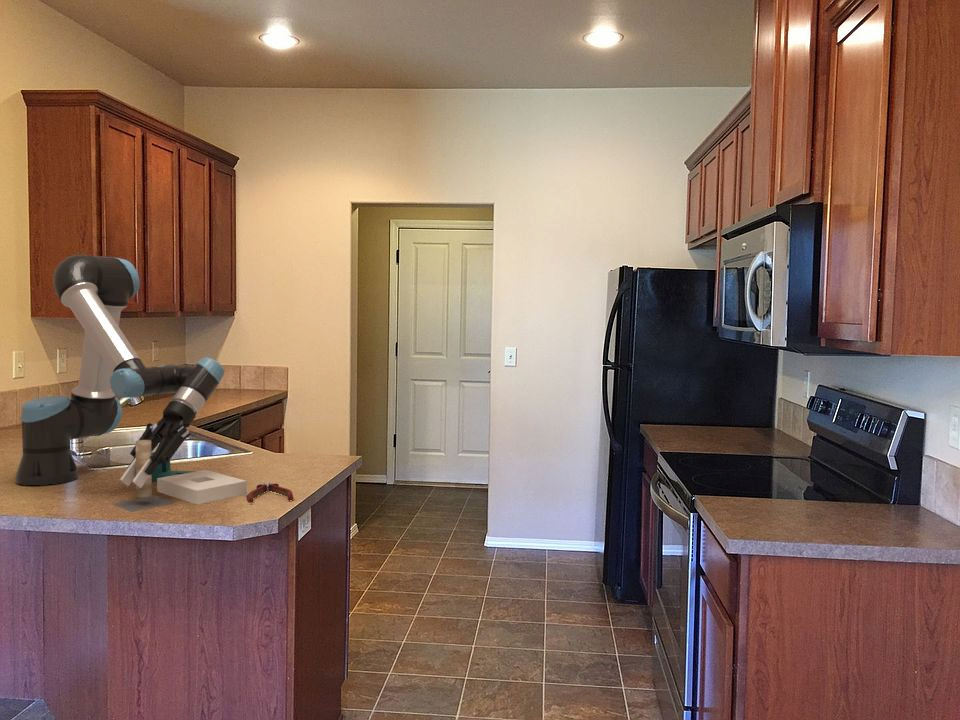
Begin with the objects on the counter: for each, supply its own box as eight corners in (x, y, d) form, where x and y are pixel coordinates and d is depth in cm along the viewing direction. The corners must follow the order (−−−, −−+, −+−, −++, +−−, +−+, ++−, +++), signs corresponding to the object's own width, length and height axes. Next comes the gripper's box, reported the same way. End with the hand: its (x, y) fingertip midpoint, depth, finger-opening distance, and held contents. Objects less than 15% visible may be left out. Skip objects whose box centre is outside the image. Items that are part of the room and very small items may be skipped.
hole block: (157, 493, 189) (157, 478, 189) (205, 483, 200) (205, 469, 199) (197, 506, 176) (197, 490, 176) (246, 495, 187) (246, 480, 187)
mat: (110, 505, 176) (110, 503, 176) (154, 497, 185) (154, 495, 185) (132, 513, 169) (131, 511, 169) (176, 504, 178) (176, 502, 178)
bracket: (135, 482, 201) (134, 455, 200) (148, 477, 208) (148, 450, 207) (195, 485, 199) (195, 457, 199) (207, 479, 206) (207, 452, 205)
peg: (133, 496, 177) (133, 441, 176) (147, 494, 179) (147, 439, 178) (140, 499, 174) (139, 443, 173) (154, 496, 177) (153, 441, 176)
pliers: (286, 485, 201) (286, 476, 201) (294, 503, 183) (294, 493, 182) (244, 488, 197) (244, 479, 197) (247, 507, 179) (247, 496, 178)
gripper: (215, 419, 186) (164, 496, 172) (168, 414, 193) (116, 487, 179) (199, 401, 181) (146, 479, 167) (152, 397, 188) (96, 471, 174)
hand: (130, 483), depth 173 cm, fingers closed on peg, 3 cm apart
